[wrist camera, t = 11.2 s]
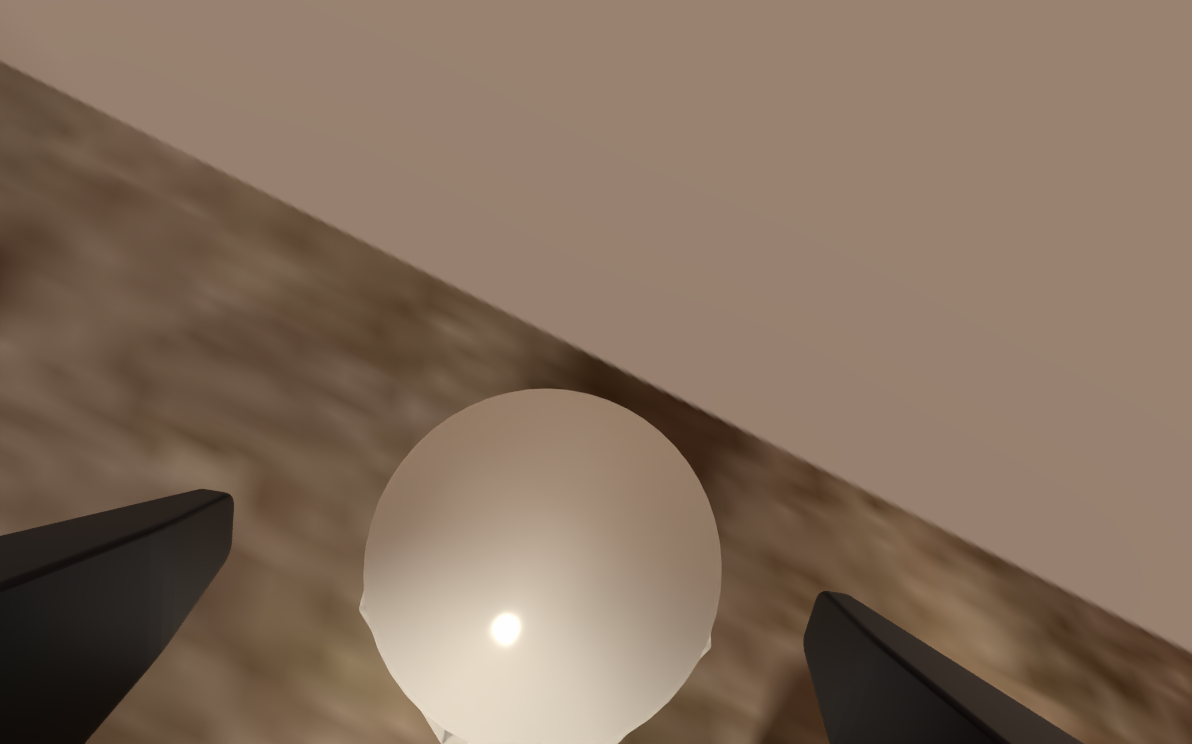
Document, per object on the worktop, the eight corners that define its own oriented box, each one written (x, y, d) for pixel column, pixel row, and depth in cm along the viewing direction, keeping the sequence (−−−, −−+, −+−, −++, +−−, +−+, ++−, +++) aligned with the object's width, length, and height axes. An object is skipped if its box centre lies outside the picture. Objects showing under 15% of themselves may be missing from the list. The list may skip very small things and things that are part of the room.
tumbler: (639, 520, 22) (718, 410, 13) (628, 736, 19) (725, 775, 10) (455, 498, 22) (414, 369, 13) (409, 714, 18) (310, 737, 10)
